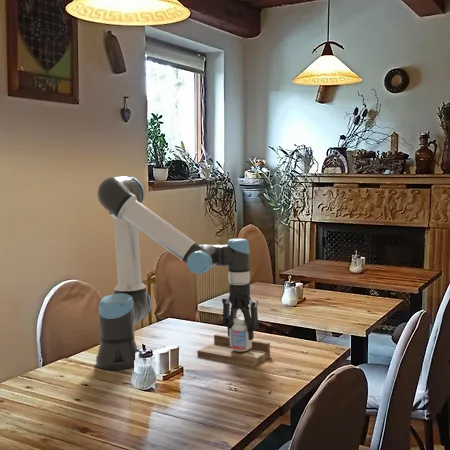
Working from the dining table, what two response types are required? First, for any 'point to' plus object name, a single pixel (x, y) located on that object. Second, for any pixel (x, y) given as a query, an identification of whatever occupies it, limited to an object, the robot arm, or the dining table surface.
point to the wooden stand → (235, 352)
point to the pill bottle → (239, 334)
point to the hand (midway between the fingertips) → (240, 346)
